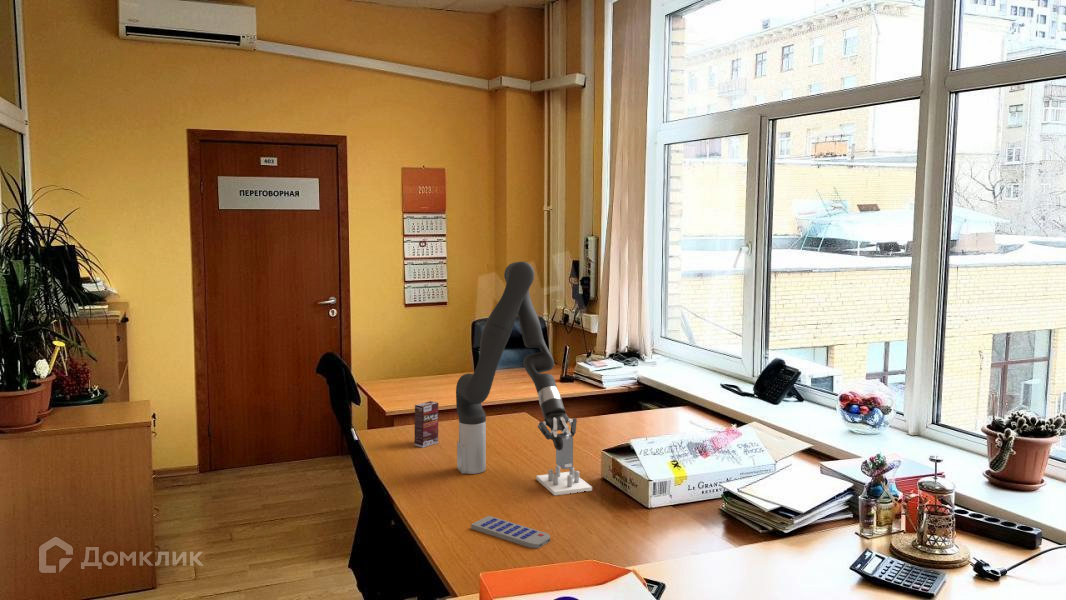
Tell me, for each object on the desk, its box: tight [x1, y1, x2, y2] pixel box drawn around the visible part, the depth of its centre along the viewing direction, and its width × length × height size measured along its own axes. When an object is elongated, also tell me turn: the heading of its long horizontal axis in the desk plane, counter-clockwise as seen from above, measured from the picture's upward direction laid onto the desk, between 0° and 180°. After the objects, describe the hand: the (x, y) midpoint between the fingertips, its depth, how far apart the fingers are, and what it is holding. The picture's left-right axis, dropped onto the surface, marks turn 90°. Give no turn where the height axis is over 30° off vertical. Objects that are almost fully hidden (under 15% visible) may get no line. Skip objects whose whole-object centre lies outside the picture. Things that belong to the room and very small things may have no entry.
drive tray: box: [535, 464, 593, 496], centre depth 254 cm, size 13×16×5 cm
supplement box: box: [414, 400, 439, 448], centre depth 296 cm, size 9×5×16 cm, turn 143°
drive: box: [555, 432, 574, 470], centre depth 253 cm, size 4×6×10 cm, turn 21°
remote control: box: [470, 515, 551, 549], centre depth 215 cm, size 8×23×2 cm, turn 54°
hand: (565, 448), depth 253 cm, fingers closed on drive, 3 cm apart
